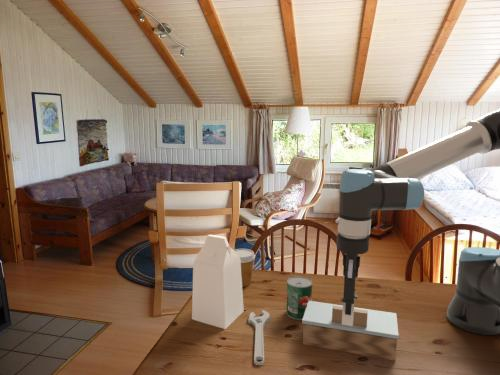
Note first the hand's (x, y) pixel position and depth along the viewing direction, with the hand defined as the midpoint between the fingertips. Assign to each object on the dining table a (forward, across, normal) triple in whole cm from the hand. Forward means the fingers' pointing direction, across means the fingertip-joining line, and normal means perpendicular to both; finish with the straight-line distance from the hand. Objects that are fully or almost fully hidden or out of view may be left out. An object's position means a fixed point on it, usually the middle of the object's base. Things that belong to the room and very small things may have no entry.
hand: (347, 323), depth 97 cm
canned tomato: (+11, -20, -16) cm, 28 cm away
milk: (+11, -11, -40) cm, 43 cm away
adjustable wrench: (+12, -4, -25) cm, 28 cm away
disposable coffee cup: (+11, -35, -40) cm, 54 cm away
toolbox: (+11, -10, 0) cm, 14 cm away
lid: (+4, -10, 0) cm, 10 cm away
